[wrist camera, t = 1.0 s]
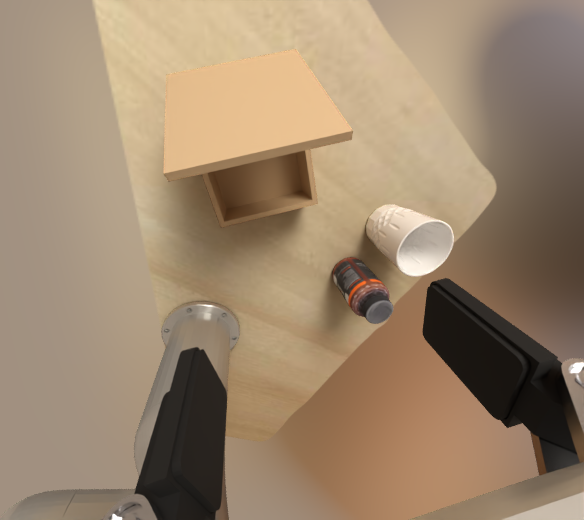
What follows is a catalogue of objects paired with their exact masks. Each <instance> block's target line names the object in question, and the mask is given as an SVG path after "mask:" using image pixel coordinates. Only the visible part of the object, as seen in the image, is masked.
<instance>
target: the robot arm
mask: <svg viewBox="0 0 584 520" xmlns="http://www.w3.org/2000/svg"><path fill="white" fill-rule="evenodd" d="M239 335H240V327H239V322H238V320H237V318H236V317H235V315H234V314H233V313H232V312H231V311H230V310H229V309H227V308H225V307H224V306H221V305H219V304H216V303H212V302H203V301H201V302H192V303H187V304H184V305H182V306H179V307H178V308H176V309H175V310H173V311H172V312H171V313H170V314H169V315H168V316H167V318H166V319H165V322H164V324H163V327H162V339H163V342H164V343H165V345H166V349H165V352H164V355H163V358H162V360H161V363H160V366H159V369H158V372H157V375H156V378H155V381H154V383H153V386H152V389H151V392H150V395H149V398H148V400H147V404H146V406H145V409H144V412H143V415H142V418H141V420H140V423H139V427H138V429H137V433H136V436H135V443H134V457H135V463H136V468H137V471H138V474H139V479H138V483H137V486H136V488H135V489H102V490H101V489H100V490H99V489H94V490H93V489H88V490H87V489H86V490H82V489H81V490H80V489H79V490H56V491H47V492H43V493H39V494H35V495H32V496H30V497H27V498H25V499H24V500H22V501H20V502H18V503H16V504H15V505H13V506H12V507H11V508H9V509H8V510H7V511H6V512H4V513H3V514H2V515H1V516H0V520H229V517H228V507H227V497H226V485H225V432H226V410H227V391H228V371H229V352H230V350H231V349H232V348H233V347H234V346H235V345H236V343H237V341H238V339H239ZM423 336H424V338H425V340H426V341H427V342H428V343H429V344H430V346H432V348H433V349H434V350H435V351H436V352H437V354H438V355H439V356H440V357H441V358H442V359H443V360H444V362H445V363H446V364H447V365H448V366H449V367H450V368H451V370H452V371H453V372H454V373H455V374H456V375H457V376H458V378H459V379H460V380H461V381H462V382H463V383H464V384H465V386H466V387H467V388H468V389H469V390H470V391H471V392H472V394H473V395H474V396H475V397H476V398H477V399H478V400H479V401H480V403H481V404H482V405H483V406H484V407H485V408H486V410H487V411H488V412H489V413H490V414H491V415H492V416H493V417H494V418H496V419H498V420H501V421H502V423H503V424H504V425H505V426H506V427H507V428H509V427H512V426H515V425H518V424H521V423H523V424H524V425H525V426H526V427H527V428H528V429H529V430H530V432H531V437H532V442H533V447H534V452H535V457H536V461H537V467H538V472H539V476H537V477H534V478H531V479H528V480H525V481H522V482H519V483H516V484H513V485H510V486H507V487H504V488H501V489H498V490H495V491H492V492H489V493H486V494H483V495H480V496H477V497H474V498H472V499H468V500H466V501H462V502H460V503H457V504H454V505H451V506H448V507H445V508H442V509H439V510H436V511H433V512H430V513H428V514H425V515H422V516H418V517H416V518H413V519H410V520H584V359H580V358H575V359H568V360H566V361H564V363H563V364H562V363H561V362H560V361H558V360H557V358H558V357H557V356H555V355H554V354H553V353H551V352H550V351H549V350H547V349H546V348H544V347H543V346H542V345H540V344H539V343H537V342H536V341H535V340H533V339H532V338H530V337H529V336H528V335H526V334H525V333H523V332H522V331H521V330H519V329H518V328H517V327H515V326H514V325H512V324H511V323H510V322H508V321H507V320H505V319H504V318H503V317H501V316H500V315H498V314H497V313H496V312H494V311H493V310H492V309H490V308H489V307H487V306H486V305H485V304H483V303H482V302H480V301H479V300H478V299H476V298H475V297H473V296H472V295H471V294H469V293H468V292H467V291H465V290H464V289H462V288H461V287H459V286H458V285H457V284H455V283H454V282H453V281H451V280H450V279H447V278H445V279H441V280H438V281H434V282H432V283H431V284H430V287H428V289H427V298H426V306H425V316H424V324H423Z"/></svg>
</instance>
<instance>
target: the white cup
mask: <svg viewBox="0 0 584 520" xmlns="http://www.w3.org/2000/svg"><path fill="white" fill-rule="evenodd" d="M366 233H367V236H368V237H369V239H370V240H371V241H372V242H373V243H374V244H375V246H376V247H377V248H378V249H379V250H380V251H381V252H382V253H383V254H384V255H385V256H386V257H387V258H388V259H389V260H390V261H391V262H392V263H393V264H394V265H395V266H396V267H397V268H398V269H399V270H400V271H401V272H402V273H404V274H406V275H408V276H414V277H416V276H422V275H426V274H428V273H430V272H432V271H434V270H435V269H437V268H438V267H439V266H440V265H441V264H442V263H443V262H444V261H445V260H446V258H447V257H448V256H449V254H450V252H451V249H452V247H453V243H454V235H453V231H452V229H451V227H450V226H449V225H448V224H447V223H445V222H443V221H440V220H438V219H435V218H432V217H429V216H427V215H424V214H421V213H419V212H416V211H413V210H410V209H406V208H402V207H399V206H397V205H394V204H390V205H383V206H381V207H379V208H378V209H376V210H375V211H374V212H373V213H372V214H371V216H370V217H369V219H368V222H367V224H366Z"/></svg>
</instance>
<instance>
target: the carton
mask: <svg viewBox="0 0 584 520" xmlns="http://www.w3.org/2000/svg"><path fill="white" fill-rule="evenodd" d="M202 177H203V179H204V182H205V185H206V188H207V191H208V193H209V196H210V199H211V202H212V204H213V207H214V210H215V213H216V216H217V218H218V221H219V224H220V227H221V228H222V227H226V226H230V225H234V224H238V223H242V222H246V221H250V220H254V219H258V218H262V217H267V216H271V215H275V214H279V213H283V212H287V211H291V210H295V209H299V208H303V207H307V206H311V205H315V204H318V200H317V193H316V186H315V179H314V172H313V165H312V158H311V150H310V149H309V150H304V151H300V152H296V153H291V154H287V155H283V156H278V157H274V158H270V159H265V160H261V161H256V162H252V163H248V164H243V165H239V166H235V167H230V168H226V169H222V170H217V171H213V172H209V173H204V174H202Z"/></svg>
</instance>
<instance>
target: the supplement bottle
mask: <svg viewBox="0 0 584 520" xmlns="http://www.w3.org/2000/svg"><path fill="white" fill-rule="evenodd" d="M332 277H333V280H334V282H335V284H336V286H337V287H338V289H339V290H340V292H341V293H342V295H343V296H344V298H345V300H346V301H347V303H348V304H349V306H350V307H351V309H352V310H353V312H354V313H356V314H357V315H359V316H362V317H365V318H366V319H367V321H369V322H370V323H373V324H378V323H381V322H384V321H385V320H387V319H388V318H389V317H390V315H391V314H392V312H393V305H392V303H391V302H390V301H389V291H388V289H387V288H386V286H385V285H384V284H383V283H382V282H381V281H380V280H379V279H378V278H377V277H376V276H375V274H374V273H373V272H372V271H371V270H370V269H369V268H368V267H367V266H366V265H365V264H364V263H363V262H362V261H361V260H359V259H357V258H354V257H350V258H345V259H343V260H341V261H340V262H339V263H338V264H337V265H336V266H335V267H334V269H333V273H332Z"/></svg>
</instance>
